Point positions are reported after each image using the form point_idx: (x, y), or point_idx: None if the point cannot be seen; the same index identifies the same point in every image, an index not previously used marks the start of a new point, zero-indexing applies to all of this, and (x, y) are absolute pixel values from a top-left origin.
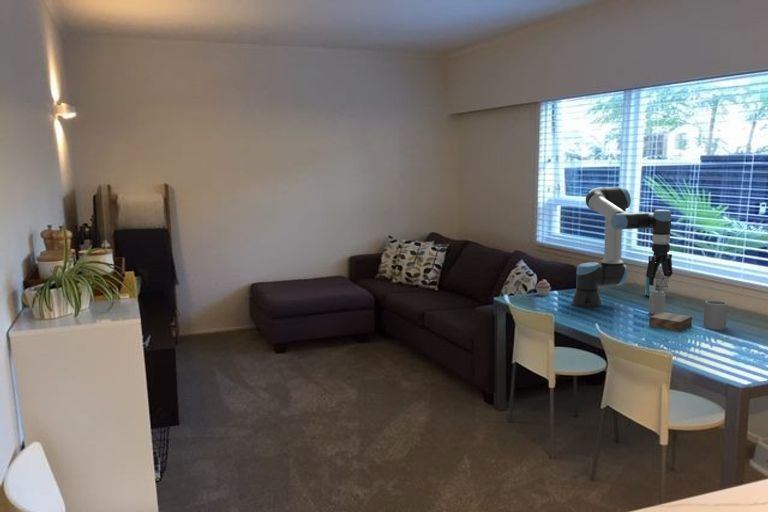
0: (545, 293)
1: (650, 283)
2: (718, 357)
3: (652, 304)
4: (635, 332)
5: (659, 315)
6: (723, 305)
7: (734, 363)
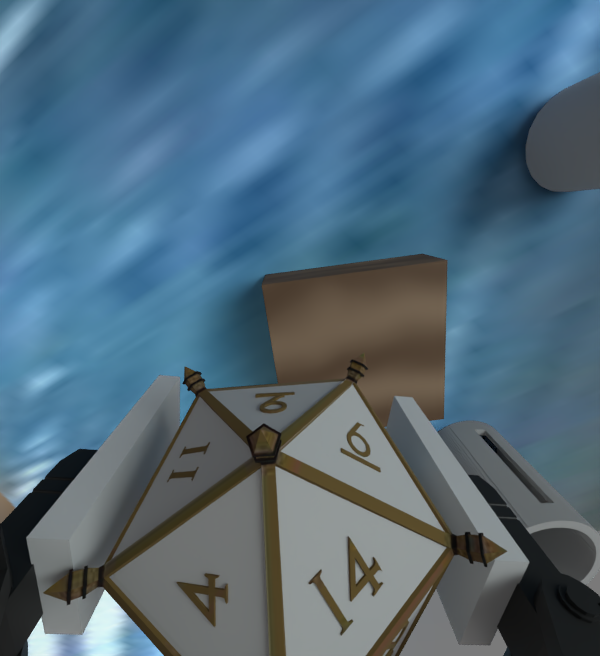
0: None
1: (64, 485)
2: (105, 608)
3: (580, 117)
4: (100, 299)
5: (339, 304)
6: None
7: (96, 645)
